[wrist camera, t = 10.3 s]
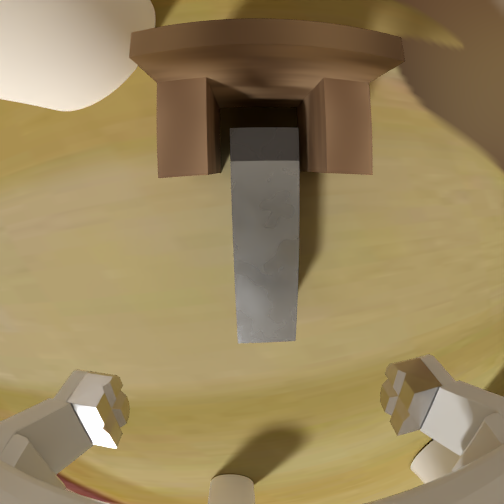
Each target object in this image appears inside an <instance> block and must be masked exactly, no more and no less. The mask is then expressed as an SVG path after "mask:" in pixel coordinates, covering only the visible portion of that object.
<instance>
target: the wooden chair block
mask: <svg viewBox="0 0 504 504" xmlns="http://www.w3.org/2000/svg"><path fill="white" fill-rule="evenodd" d="M129 58H130V59H131V60H132V61H134V62H135V63H136V64H137V65H138V66H139V67H140V68H141V69H142V70H144V71H145V72H146V73H147V74H148V75H149V76H150V77H151V78H152V79H154V80H155V81H156V82H157V158H158V178H166V177H179V176H193V175H209V174H215V173H221V150H220V108H232V107H297V123H298V128H299V171H306V172H320V173H343V174H366V175H372V123H371V105H370V91H369V83H370V82H371V81H373V80H375V79H376V78H378V77H380V76H381V75H383V74H384V73H386V72H388V71H389V70H391V69H393V68H395V67H396V66H398V65H400V64H401V63H403V62H405V58H404V52H403V46H402V40H401V37H398V36H394V35H390V34H386V33H381V32H377V31H372V30H367V29H362V28H357V27H351V26H345V25H339V24H332V23H324V22H315V21H304V20H290V19H224V20H209V21H199V22H190V23H182V24H175V25H168V26H162V27H156V28H151V29H146V30H141V31H136V32H132V33H131V41H130V52H129Z"/></svg>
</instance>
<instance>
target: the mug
mask: <svg viewBox="0 0 504 504" xmlns="http://www.w3.org/2000/svg"><path fill="white" fill-rule="evenodd" d="M208 504H255V495H254V484H253V481H252V480H251V479H249V478H248V477H245V476H241V475H235V474H225V475H219V476H216V477H214V478H213V479H212V480H211V483H210V491H209V499H208Z"/></svg>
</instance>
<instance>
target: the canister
mask: <svg viewBox="0 0 504 504" xmlns="http://www.w3.org/2000/svg"><path fill="white" fill-rule="evenodd" d="M155 22H156V18H155V11H154V7H153V5H152V3H151V1H150V0H0V99H4V100H9V101H15V102H20V103H25V104H30V105H35V106H40V107H45V108H49V109H54V110H58V111H73V110H78V109H82V108H85V107H88V106H90V105H92V104H94V103H96V102H98V101H100V100H102V99H103V98H105V97H106V96H108V95H109V94H111V93H112V92H113V91H114V90H116V89H117V88H118V87H119V86H120V85H121V84H122V83H124V82H125V81H126V80H127V78H128V77H129V76H130V75H131V74H132V73H133V72H134V70H135V69H136V68H137V66H138V65H137V64H136V63H135V62H134V61H132V60H131V59H130V58H129V52H130V41H131V33H132V32H136V31H141V30H146V29H151V28H155Z"/></svg>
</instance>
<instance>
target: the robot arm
mask: <svg viewBox="0 0 504 504" xmlns="http://www.w3.org/2000/svg"><path fill="white" fill-rule="evenodd" d="M385 375H386V376H387V378H388V379H387V380H386V381H385V382H384V383H383V385H382V387H381V392H380V401H381V405H382V407H383V409H384V411H385V412H386V413H388V414H389V415H391V419H390V423H391V425H392V427H393V429H394V431H395V432H396V434H397V436H398V435H402V434H406V433H409V432H413V431H416V430H420V429H421V430H420V431H422V432H423V433H425V434H426V435H428V436H429V437H431V438H432V439H434V440H433V441H432V442H430V443H429V444H428V445H427V446H426V447H425V448H424V449H423V450H422V451H421V452H420V453H419V454H418V455H417V456H416V457H415V459H414V460H413V462H412V464H411V470H412V471H413V472H414V473H415V474H416V475H417V476H418V477H419V478H420V479H421V480H422V481H423V483H424V484H423V485H420V486H418V487H415V488H413V489H410V490H407V491H404V492H401V493H398V494H395V495H392V496H389V497H386V498H382V499H379V500H376V501H372V502H368V503H364V504H504V397H503V396H500V395H497V394H495V393H492V392H489V391H486V390H484V389H481V388H478V387H475V386H473V385H470V384H467V383H465V382H462V381H455V380H454V379H453V378H452V377H451V376H450V374H449V373H448V372H447V371H446V370H445V369H444V368H443V366H442V365H441V364H440V363H439V362H438V361H437V360H436V359H435V358H434V356H432V355H430V354H428V355H424V356H421V357H417V358H414V359H409V360H405V361H400V362H395V363H390V364H389V365H388V367H387V369H386V372H385ZM122 386H123V384H122V382H121V379H120V377H118V376H117V375H112V374H105V373H98V372H92V371H84V370H78V369H77V370H74V371H73V372H72V374H71V375H70V376H69V378H68V379H67V381H66V382H65V383H64V385H63V386H62V387H61V389H60V390H59V392H58V393H57V394H56V396H55V397H54V399H50V398H49V399H47V400H45V401H43V402H41V403H39V404H37V405H35V406H33V407H31V408H28V409H26V410H24V411H22V412H20V413H18V414H16V415H14V416H11V417H9V418H7V419H5V420H3V421H1V422H0V504H110V503H106V502H102V501H99V500H95V499H92V498H89V497H85V496H82V495H79V494H76V493H73V492H70V491H67V490H65V489H66V487H65V485H64V483H63V482H62V481H61V480H60V479H59V478H58V477H57V475H56V474H57V473H59V472H60V471H61V470H63V469H64V468H65V467H66V466H68V465H69V464H70V463H72V462H73V461H74V460H75V459H77V458H78V457H79V456H80V455H82V454H83V453H84V452H86V451H87V450H88V449H89V448H90V447H92V446H93V444H95V445H101V446H106V447H112V448H117V446H118V444H119V441H120V439H121V436H122V434H123V433H122V431H121V428H120V427H122V426H123V425H125V424H126V423H127V421H128V418H129V411H130V407H129V401H128V398H127V396H126V395H125V394H124V393H123V392H122V391H121V388H122Z"/></svg>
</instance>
